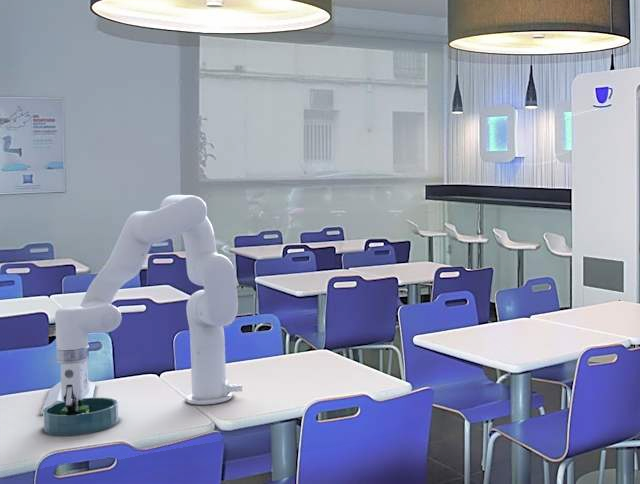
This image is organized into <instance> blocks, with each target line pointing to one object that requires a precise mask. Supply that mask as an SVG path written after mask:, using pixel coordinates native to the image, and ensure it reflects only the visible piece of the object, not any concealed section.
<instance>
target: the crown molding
mask: <svg viewBox="0 0 640 484" xmlns="http://www.w3.org/2000/svg"><path fill="white" fill-rule="evenodd" d="M88 381H89V393H88V394H87V395H86V396H85V398H94V395H95V390H96V385H95V383H94V382H93V381H90V380H88ZM60 402H64V401H63V400H62V395H61V380H60V381H58V382H57V383H56V384H55V385H54V386H52V387H51V388H50V389H49V390H48V393H47V395H46V398H45V400H44V403H43V406H42V407H41V410H40V416H43V410H44V409H45V408H46V407H49V406H51V405H53V404H56V403H60Z"/></svg>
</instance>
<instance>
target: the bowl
mask: <svg viewBox="0 0 640 484" xmlns="http://www.w3.org/2000/svg"><path fill="white" fill-rule="evenodd" d="M83 403H84V404H83V406H86V405H89V413H85V414H76V415H61V412H60V411H61V410H62V409H63V408H64V407H66V401H65V402H60V403H56V404H53V405H51V406H49V407H46V408H45V409H44V410H43V414H42V417H43V418H42V421H43V431H44V433H46V434H48V435H53V436H78V435H85V434H93V433H96V432H100V431H104V430H107V429H110V428H112V427H113V426H115V425H117V424H118V422H119V404H118V401H117V399H114V398H109V397H93V398H84V399H83Z"/></svg>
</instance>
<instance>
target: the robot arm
mask: <svg viewBox="0 0 640 484" xmlns="http://www.w3.org/2000/svg"><path fill="white" fill-rule="evenodd" d="M207 214H208V207H207V204H206V202H205V201H204V200H203V199H202V198H201V197H199V196H196V195H192V194H186V195H185V194H173V195H168V196H167V197H164V198H163V200H162V201H161V203H160V207H159V208H158V209H155V210H152V211H151V210H149V211H148V210H143V211H142V210H140V211H135V212H133V213H132V214H130V215H129V217H128V218H127V219H126V221H125V223H124V225H123V228H122V229H121V231H120V234H119V237H118V238H117V241H116V243H115V245H114V248H113V250H112V252H111V253H110V257H109V258H108V260H107V262H106V263H105V264H104V265H103V266H102V267H101V268H100V271H99V272H98V273H97V274H96V275H95V277H94V278H93V279H92V281H91V283H90V284H89V286H88V288H87V290H86V291H85V294H84V296H83V299H82V301H81V303H80V305H72V306H71V305H69V306H63V307H60V308H58V309H57V310H56V311H55V316H54V319H55V321H54V322H55V342H56V343H55V346H56V362H57V363H58V364H60V381H61V395H62V400H63V401H64V402H65V401H66V415H76V414H80V411H79V412H78V406H83V404H84V403H83V399H84V398H85V396H86V395H87V394H88V393H89V381H90V380H89V371H88V361H89V359H90V356H89V354H90V351H89V334H94V333H95V334H98V333H99V334H104V333H105V334H106V333H110V332H113V331H115V330H116V329H117V328H118V327H119V326H120V325H121V323H122V320H123V316H122V313H121V310H120V309H119V308H118V307H117V306H115V305H114V304H112V302H113V300H114V298H115V296H116V294H117V293H118V292H119V290H120V289H121V288H122V287H123V286H124V285H125V284H126V283H128V282H129V281H131V280H133V279H134V278H135V277H137V276H138V275H139V274H140V272H141V270H142V268H143V265H144V262H145V260H146V259H147V257H148V254H149V251H150V250H151V248H152V245H153V244H159V243H162V242H165V241H167V240H170V239H172V238H174V237H176V236H178V235H179V236H180V235H181V236H182V239H183V244H184V252H185V253H184V254H185V263H186V264H185V265H186V273H187V277H188V279H189V281H190V282H191V283H193V284H194V285H197V286H200V287H203V289H200V290H197V291H195V292H193V293H192V294H191V295H190V296H189V297H188V299H187V301H186V305H185V311H186V318H187V323H188V330H189V341H190V342H189V345H190V346H189V348H190V373H191V377H190V378H191V394H188V395H187V396H186V397H185V398H186V402H187V403H188V404H190V405H198V406H199V405H200V406H201V405H202V406H203V405H215V404H220V403H224V402H228V401H229V400H231V399H232V398H233V393H241V392H243V384H239V383H235V384H231V383H229V381H228V379H227V367H226V337H225V330H224V329H225V328H224V327H227V326H229V325H231V324H232V323H233V322H234V321H235V319H236V317H237V315H238V312H239V298H238V297H239V296H238V287H237V276H236V270H235V267H234V265H233V263H232V261H231V260H230V259H229V258H228V257H227V256H225V255H223V254H219V253H218V250H217V243H216V237H215V231H214V227H213V225H212V223H211V221H210V219H209V218H208V217H207Z"/></svg>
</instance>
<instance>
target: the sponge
mask: <svg viewBox="0 0 640 484" xmlns="http://www.w3.org/2000/svg"><path fill="white" fill-rule="evenodd" d="M79 411H80V414H85V413H89V405H86V406H78V412H79ZM60 412H61V415H66V407H64V408H63V409H62V410H61V411H60Z"/></svg>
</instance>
